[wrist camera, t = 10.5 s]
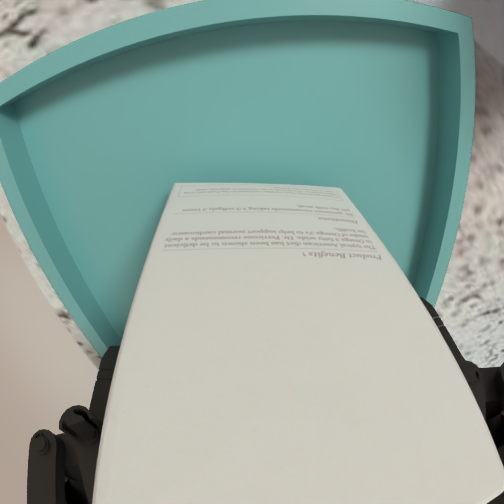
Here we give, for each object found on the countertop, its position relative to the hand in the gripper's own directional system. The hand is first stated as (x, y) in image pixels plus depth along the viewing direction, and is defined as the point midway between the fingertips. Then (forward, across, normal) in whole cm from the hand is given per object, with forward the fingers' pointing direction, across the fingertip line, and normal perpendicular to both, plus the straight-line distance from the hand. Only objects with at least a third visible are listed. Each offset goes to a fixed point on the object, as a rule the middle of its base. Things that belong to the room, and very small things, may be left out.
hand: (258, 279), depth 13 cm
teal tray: (+4, 0, 0) cm, 4 cm away
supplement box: (+2, 0, 0) cm, 2 cm away
